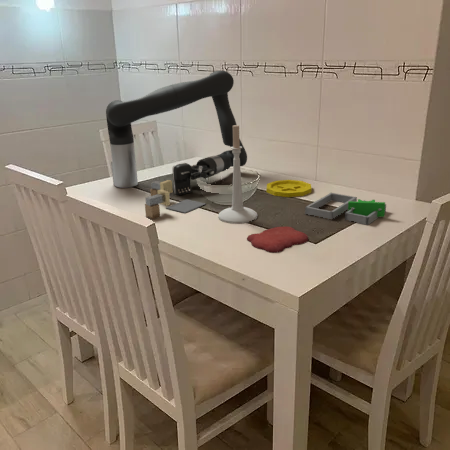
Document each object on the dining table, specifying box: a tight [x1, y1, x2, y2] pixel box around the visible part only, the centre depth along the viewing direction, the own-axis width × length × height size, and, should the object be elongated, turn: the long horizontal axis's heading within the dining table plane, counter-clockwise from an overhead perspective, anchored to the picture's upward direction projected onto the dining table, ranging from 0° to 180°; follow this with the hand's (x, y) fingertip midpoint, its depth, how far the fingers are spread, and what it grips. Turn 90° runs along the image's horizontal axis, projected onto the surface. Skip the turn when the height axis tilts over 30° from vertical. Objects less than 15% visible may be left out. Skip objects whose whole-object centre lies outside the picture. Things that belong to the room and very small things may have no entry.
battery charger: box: [172, 162, 193, 196], centre depth 180 cm, size 7×4×11 cm, turn 126°
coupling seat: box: [165, 199, 207, 214], centre depth 167 cm, size 9×11×1 cm
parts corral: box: [304, 192, 387, 226], centre depth 157 cm, size 21×19×2 cm
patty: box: [246, 226, 309, 254], centre depth 138 cm, size 18×14×2 cm
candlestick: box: [217, 124, 258, 225], centre depth 151 cm, size 13×13×30 cm
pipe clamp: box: [347, 198, 386, 218], centre depth 153 cm, size 11×4×5 cm, turn 76°
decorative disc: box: [265, 179, 313, 198], centre depth 182 cm, size 17×18×2 cm
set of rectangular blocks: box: [144, 179, 174, 220], centre depth 166 cm, size 8×23×8 cm, turn 2°
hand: (182, 175), depth 179 cm, fingers open, 8 cm apart
